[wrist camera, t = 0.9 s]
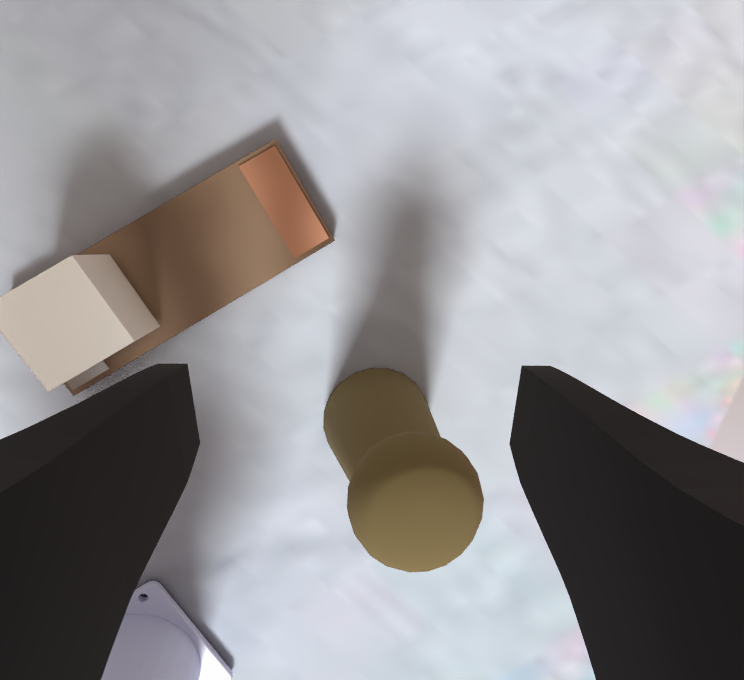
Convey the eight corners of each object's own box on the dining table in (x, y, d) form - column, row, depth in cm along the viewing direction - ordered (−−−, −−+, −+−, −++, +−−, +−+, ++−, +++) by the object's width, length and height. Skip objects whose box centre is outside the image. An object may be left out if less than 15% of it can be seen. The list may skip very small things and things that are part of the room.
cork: (350, 487, 29) (382, 629, 18) (305, 396, 27) (311, 491, 16) (443, 441, 29) (530, 553, 18) (403, 349, 28) (472, 413, 17)
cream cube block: (88, 368, 24) (48, 392, 20) (34, 298, 23) (-19, 307, 19) (160, 326, 24) (134, 340, 20) (109, 254, 23) (72, 255, 19)
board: (82, 390, 25) (72, 396, 24) (10, 298, 24) (-3, 300, 23) (333, 240, 26) (335, 240, 25) (276, 143, 25) (275, 138, 24)
